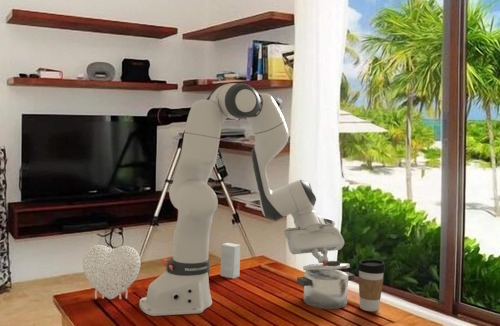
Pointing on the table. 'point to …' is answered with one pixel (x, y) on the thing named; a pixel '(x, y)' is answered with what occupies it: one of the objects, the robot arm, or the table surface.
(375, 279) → the coffee cup
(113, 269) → the decorative heart
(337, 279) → the cooker pot
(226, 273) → the skincare box
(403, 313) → the table surface
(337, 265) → the lid
